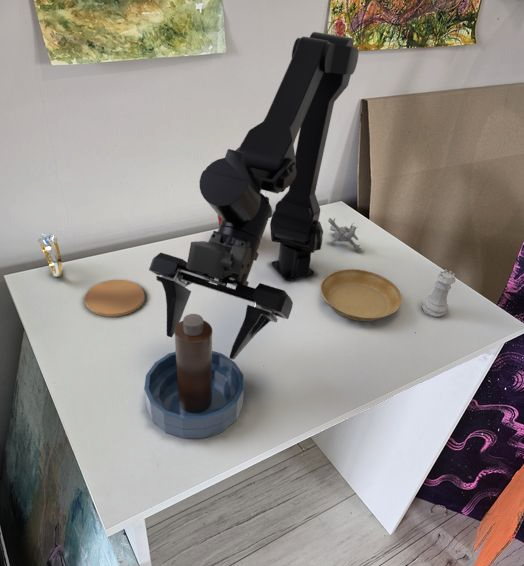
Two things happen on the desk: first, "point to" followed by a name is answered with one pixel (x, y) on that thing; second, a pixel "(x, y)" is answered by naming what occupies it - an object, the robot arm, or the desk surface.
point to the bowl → (186, 424)
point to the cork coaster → (114, 298)
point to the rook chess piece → (439, 295)
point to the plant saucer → (360, 294)
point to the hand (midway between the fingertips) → (199, 347)
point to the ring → (51, 253)
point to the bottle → (194, 363)
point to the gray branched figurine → (344, 233)
